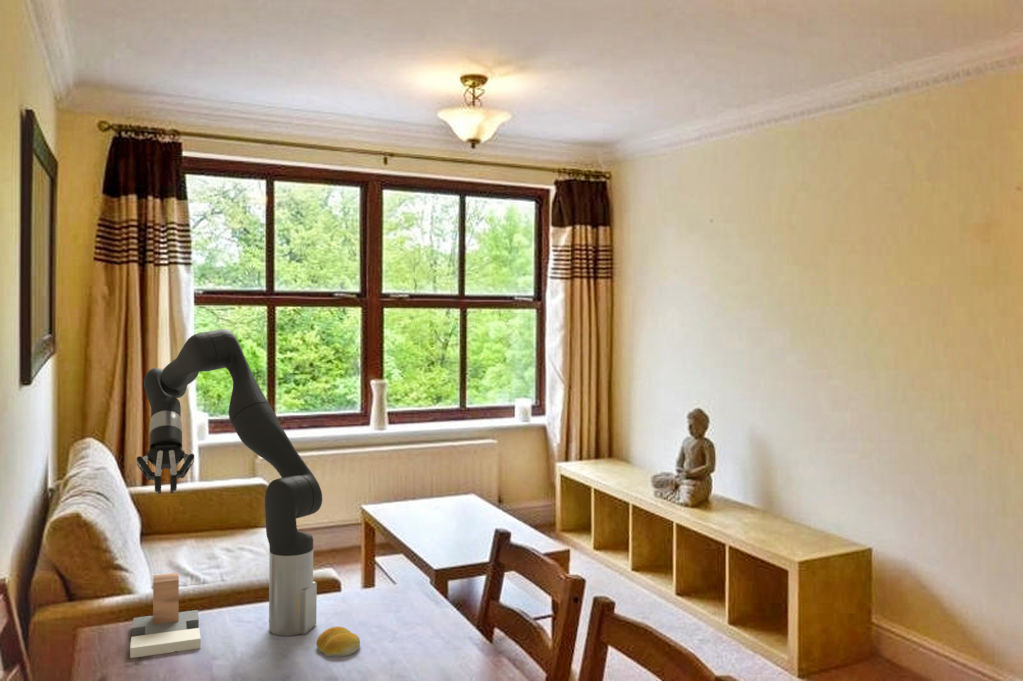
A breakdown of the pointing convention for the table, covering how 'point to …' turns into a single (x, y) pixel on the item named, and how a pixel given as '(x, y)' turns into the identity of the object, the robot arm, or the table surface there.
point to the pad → (165, 642)
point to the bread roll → (338, 642)
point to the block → (165, 598)
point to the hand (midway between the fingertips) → (165, 491)
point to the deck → (165, 624)
